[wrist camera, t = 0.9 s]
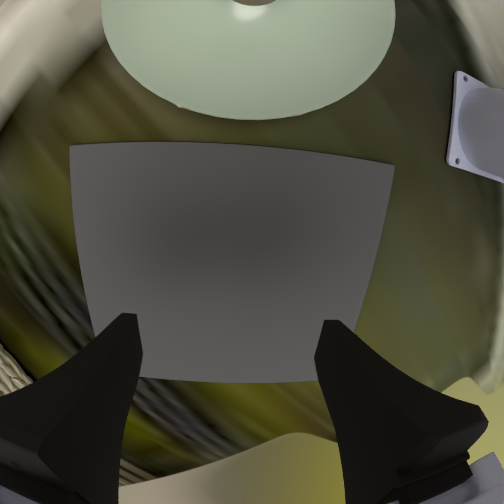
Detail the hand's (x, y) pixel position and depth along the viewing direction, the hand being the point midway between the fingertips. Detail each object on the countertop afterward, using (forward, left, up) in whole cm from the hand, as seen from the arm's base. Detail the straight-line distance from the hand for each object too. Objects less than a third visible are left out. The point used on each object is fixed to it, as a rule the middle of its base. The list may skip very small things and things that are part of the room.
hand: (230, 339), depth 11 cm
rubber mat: (0, +4, -10) cm, 11 cm away
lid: (0, -15, -6) cm, 16 cm away
